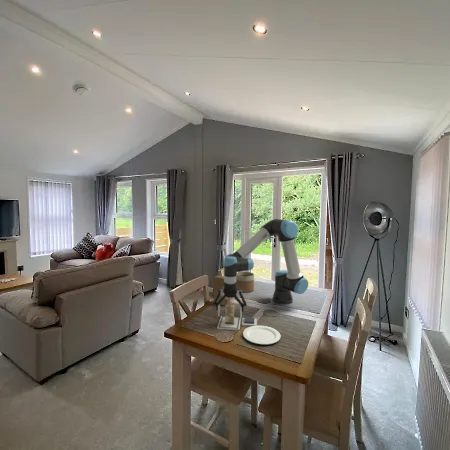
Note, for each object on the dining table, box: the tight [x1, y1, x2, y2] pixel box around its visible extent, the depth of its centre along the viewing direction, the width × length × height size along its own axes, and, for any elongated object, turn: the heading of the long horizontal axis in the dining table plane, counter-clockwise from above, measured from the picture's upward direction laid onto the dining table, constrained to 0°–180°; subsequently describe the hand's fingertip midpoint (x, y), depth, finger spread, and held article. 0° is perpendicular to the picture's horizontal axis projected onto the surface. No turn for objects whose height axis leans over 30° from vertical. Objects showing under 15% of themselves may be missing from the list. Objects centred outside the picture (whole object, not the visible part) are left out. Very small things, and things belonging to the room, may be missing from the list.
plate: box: [242, 325, 282, 346], centre depth 146 cm, size 21×21×2 cm
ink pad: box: [241, 316, 258, 327], centre depth 162 cm, size 9×9×2 cm
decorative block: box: [213, 274, 231, 307], centre depth 192 cm, size 11×6×20 cm, turn 62°
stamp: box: [224, 304, 235, 324], centre depth 160 cm, size 5×5×10 cm
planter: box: [236, 271, 255, 293], centre depth 224 cm, size 16×16×14 cm
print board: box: [216, 315, 242, 331], centre depth 161 cm, size 13×16×1 cm
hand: (229, 316), depth 161 cm, fingers open, 13 cm apart
